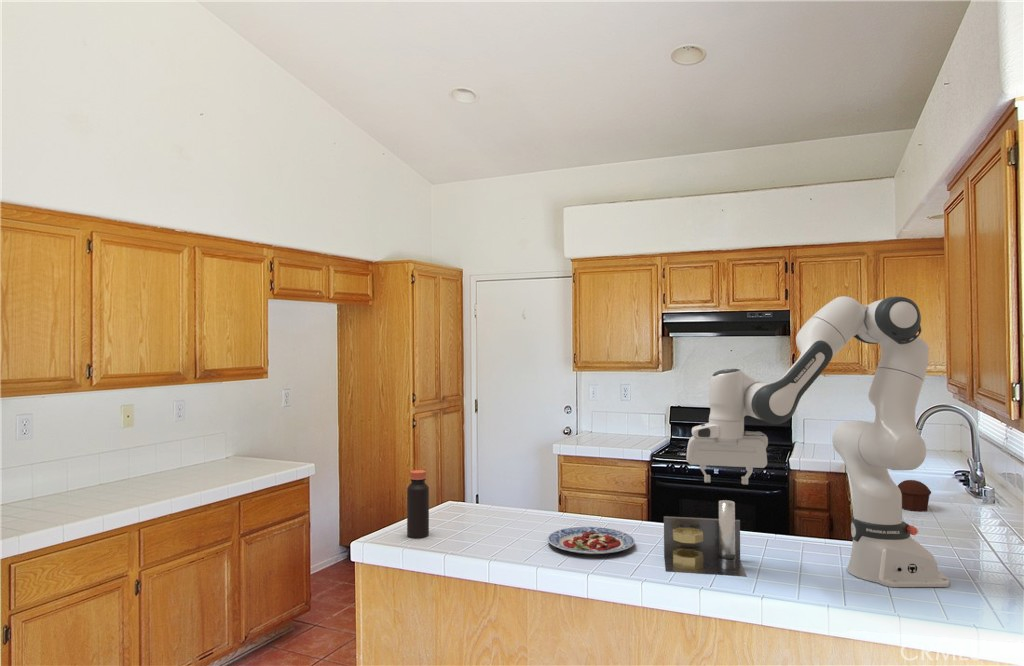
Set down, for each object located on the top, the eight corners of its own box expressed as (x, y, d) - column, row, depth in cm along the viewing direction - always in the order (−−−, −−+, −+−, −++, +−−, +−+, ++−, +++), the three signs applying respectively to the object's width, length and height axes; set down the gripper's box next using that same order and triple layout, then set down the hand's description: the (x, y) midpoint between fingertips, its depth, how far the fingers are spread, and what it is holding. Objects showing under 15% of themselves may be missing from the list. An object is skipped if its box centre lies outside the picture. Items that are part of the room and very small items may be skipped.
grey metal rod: (734, 564, 175) (733, 500, 175) (736, 570, 171) (736, 504, 171) (718, 563, 176) (717, 499, 176) (719, 569, 172) (719, 503, 172)
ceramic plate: (584, 529, 214) (584, 519, 214) (652, 546, 196) (652, 536, 196) (529, 546, 196) (529, 536, 196) (598, 566, 178) (598, 555, 178)
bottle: (422, 539, 202) (422, 474, 203) (403, 537, 205) (403, 472, 205) (432, 533, 209) (432, 470, 209) (413, 531, 211) (413, 468, 211)
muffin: (891, 503, 245) (890, 477, 245) (924, 505, 242) (924, 478, 243) (901, 511, 234) (900, 483, 234) (936, 513, 231) (936, 485, 231)
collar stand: (739, 564, 179) (739, 519, 179) (747, 581, 166) (746, 533, 166) (664, 559, 183) (663, 516, 183) (665, 576, 170) (665, 529, 170)
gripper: (765, 430, 175) (765, 482, 175) (686, 427, 179) (685, 478, 179) (770, 433, 169) (769, 487, 168) (687, 430, 173) (687, 483, 172)
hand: (725, 483), depth 174 cm, fingers open, 8 cm apart
